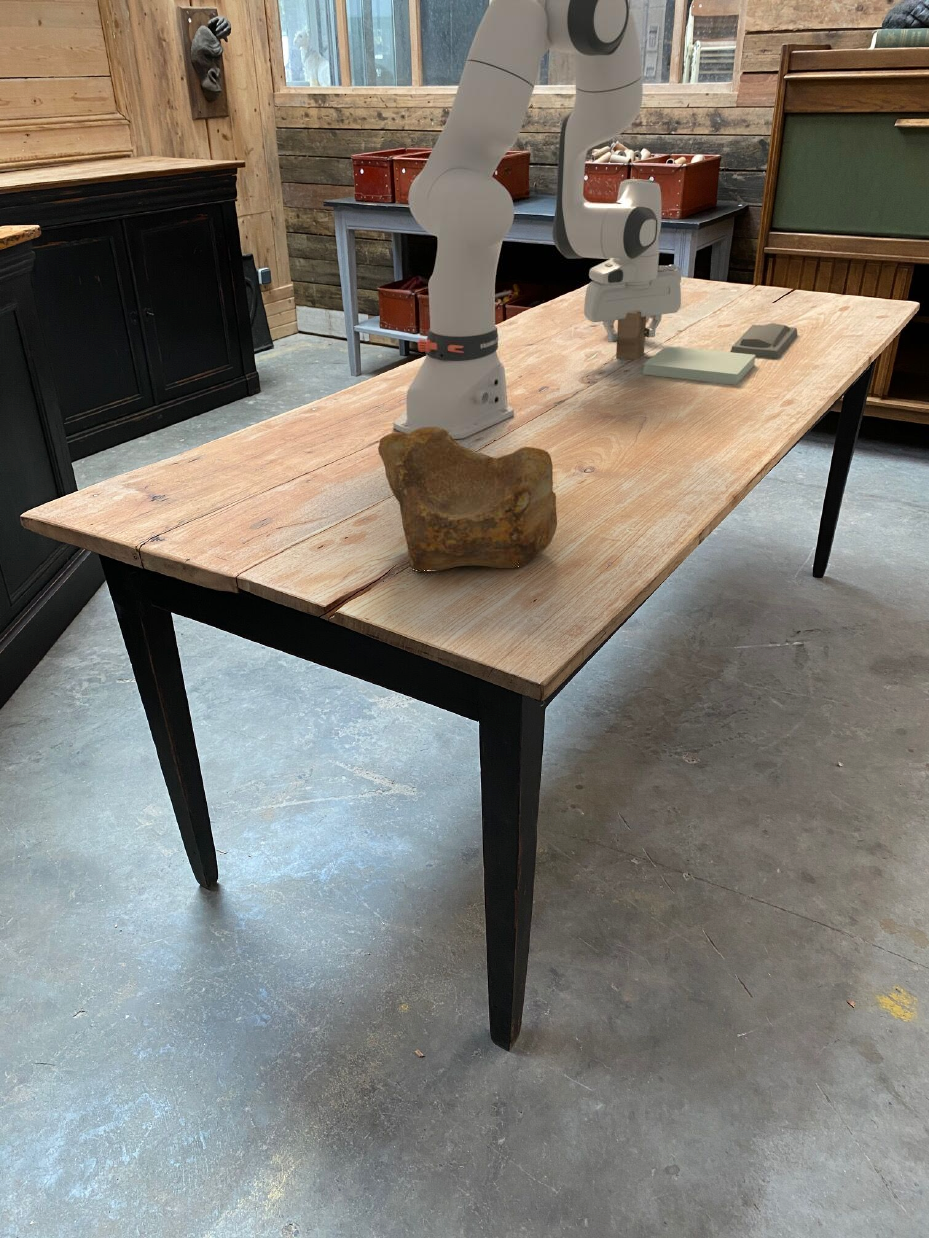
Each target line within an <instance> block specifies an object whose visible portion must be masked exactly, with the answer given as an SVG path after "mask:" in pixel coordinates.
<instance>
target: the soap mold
mask: <svg viewBox="0 0 929 1238" xmlns="http://www.w3.org/2000/svg"><path fill="white" fill-rule="evenodd" d="M797 336H798V329H797V327H790V326H788V325H786V324H781V323H773V322H771V323H767V324H762V325H760V324H758V325H757V324H752V325H751V326H750V327H749V328H748V329H747V330H746V331H745V333H743V334H742V335H741V337H739V339H737V341H736V342H734V344H733V345H732V346H731V348H730V351H729V352H732V353H742V354H752V355H756V356H755V358H756V357H757V358H768V359H779V358H780V357H781V356H782V355H783V354H784V352H785V351H786V350H787V349H788V348H789V346H790V344H791V343H792V342H793V341H795V339H796V338H797Z"/></svg>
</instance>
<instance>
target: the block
mask: <svg viewBox="0 0 929 1238" xmlns="http://www.w3.org/2000/svg"><path fill="white" fill-rule="evenodd" d="M646 327H647V323H646V316H644V317H641V312H639V311H631V312H629V313H626V318H625V319H620V320H617V329H616V331H617V332H616V333H618V337H617V339H618V341H617V342H616V351H615V352H616V354H615V356H616V358H617V359H624V360H625V359H626V360H628V359H629V360H636V359H637V358H639V357H640V356H641V355H642V354H644V353H645V344H646V337H645V330H646Z"/></svg>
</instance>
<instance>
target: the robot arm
mask: <svg viewBox="0 0 929 1238" xmlns="http://www.w3.org/2000/svg"><path fill="white" fill-rule="evenodd" d="M549 50H551V51H553V52H555V53H562V54H571V55H572V57H573V66H574V68H573V69H574V70H573V71H574V84H575V98H574V99H575V100H574V103H573V104H574V105H573V107H572V110H571V111H570V112H569V113H567V114H566V115H565V116H564V119H563V122H562V123H561V129H560V135H559V142H558V156H557V159H558V160H557V179H556V182H557V183H556V199H555V200H556V203H555V212H554V218H553V224H552V241H553V243H554V245H555V247H556V248H557V251H559V252H560V254H561V255H562V256H564V258H566V259H586V258H588V259H601V260H602V259H603V260H604V259H605V260H606V261H604V262H601V263H599V264H597V265H595V266H593V267H590V269H589V272H588V277H589V279H591V281H590V282H589V283H588V285H587V287H586V291H585V296H584V306H583V307H584V308H583V314H584V316H585V318H586V320H588V321H590V322H591V323H601V322H602V325H603V327H604V329H605V331H606V333H607V339H606V340H607V342H608V343H617V341H618V339H617V337H618V333H617V332H613V330H612V327H611V326H613V325H614V324H615V322H614V320H615V321H618V320H620V319H625V318H626V313H629V312H631V311H639V312H641V317H644V316H651V318H650V319H651V322H650V323H649V325H648V326H646V330H645V338H647V339H651V338H655V337H656V329H657V328H658V327H659V325H660V323H661V321H662V318H663V317H662V316H663V315H668V314H675V313H678V312H679V310H680V309H681V306H682V291H681V289H682V288H681V282H682V275H683V274H682V270H681V268H680V267H678V266H677V265H676V264H668V265H659V258H660V247H659V235H660V232H661V228H662V192H661V186H660V184H659V183H658V182H657V181H655V180H650V179H641V178H639V179H638V178H629V179H623V180H622V181H621V182H620V184H619V188H618V193H617V198H616V201H615V202H614V203H606V202H605V203H604V202H591V201H588V200H587V199H586V198H585V197H584V185H585V171H586V169H585V168H586V156H587V153H588V152H589V150H590V149H592V148H595V147H597V146H599V145H601V144H604V143H606V142H608V141H610V140H612V139H614V138H617V137H618V136H619V135H621V134H622V133H624V131H627V129H628V128H629V127H631V125H632V124H633V123H634V122H635V121H636V119H637V118H638V115H639V113H640V111H641V108H642V104H643V95H644V93H643V92H644V91H643V87H644V85H643V70H642V69H643V67H642V57H641V49H640V43H639V37H638V31H637V27H636V23H635V20H634V16H633V13H632V11H631V9H630V6H629V0H491V1H490V3H489V5H488V6H487V8H486V11H485V13H484V15H483V17H482V19H481V21H480V24H479V26H478V28H477V31H476V33H475V35H474V38H473V40H472V44H471V46H470V48H469V52H468V55H467V58H466V61H465V65H464V68H463V71H462V75H461V77H460V80H459V83H458V88H457V90H456V92H455V93H456V94H455V96H454V100H453V102H452V105H451V109H450V111H449V114H448V117H447V120H446V122H445V124H444V127H443V129H442V131H441V132H440V135H439V137H438V139H437V140H436V143H435V144H434V146H433V148H432V151H431V152H430V154H429V157H428V158H427V160H426V162H425V165H424V166H423V168H422V170H421V171H420V172H419V174H418V175H417V176H416V177H414V179H413V180H412V183H411V185H410V188H409V189H408V190H409V191H408V198H407V199H408V207H409V210H410V213H411V214H412V216H413V218H414V219H415V221H416V222H417V224H418V225H419V226H420V227H421V228H422V229H423V230H424V231H425V232H427V233H428V234H429V235H431V236H435V237H437V248H436V249H437V250H436V257H435V261H434V262H435V263H434V268H433V272H432V275H431V276H430V278H429V280H428V286H427V287H428V302H429V303H428V305H429V324H430V327H429V329H428V333H427V337H426V339H422V338H420V339H419V340H418V342H417V350H418V352H421V353H422V352H425V355H426V356H425V357H424V360H423V362H422V364H421V365H420V367H419V369H418V371H417V373H416V374H415V376H414V379H413V380H412V382H411V384H410V386H409V387H408V389H407V392H406V410H405V411H403V413H402V414H401V415H400V416H398V418H396V419H395V420H394V421H393V429H394V430H396V431H399V432H405V433H407V434H409V433H411V432H412V431H414V430H416V429H420V428H422V427H439V428H442V429H444V430H446V431H447V432H448V434H449V435H450V436H451V437H452V438H453V439H454V440H457V439H461V440H462V439H466V438H468V437H469V436H472V435H475V434H476V433H478V432H481V431H483V430H485V429H487V428H489V427H491V426H494V425H496V424H498V423H500V422H502V421H505V420H506V419H509V418H511V417H513V416H514V415H515V411H514V408H513V407H512V406H510V405H509V404H508V393H507V392H508V391H507V380H506V372H505V371H506V370H505V366H504V364H503V363H502V362H501V360H500V358H499V356H498V353H497V351H498V349H499V334H498V327H497V326H496V316H495V315H496V309H495V308H496V301H495V300H496V298H495V297H496V294H495V293H496V292H495V291H496V289H495V288H496V287H495V286H496V285H495V284H496V278H497V277H496V275H497V269H498V264H499V259H500V253H501V249H502V245H503V241H504V239H505V238H506V237H507V235H508V234H509V232H510V230H511V229H512V225H513V223H514V219H515V208H514V207H515V206H514V202H513V199H512V196H511V194H510V192H509V191H508V190H507V189H506V187H505V186H504V185H502V184H501V183H500V182H499V181H498V180H497V179H496V178H494V177H493V175H494V173H495V171H496V170H497V168H498V166H499V164H500V162H501V161H502V159H503V158H504V157H505V155H506V154H507V153H508V151H509V150H511V149H512V147H513V146H514V145H515V144H516V142H517V140H518V137H519V134H520V132H521V129H522V126H523V122H524V119H525V116H526V113H527V111H528V108H529V104H530V102H531V98H532V95H533V92H534V90H535V86H536V83H537V80H538V75H539V74H540V73H539V72H540V68H541V65H542V60H543V58H544V56H545V55H546V53H547V52H548V51H549Z"/></svg>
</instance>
